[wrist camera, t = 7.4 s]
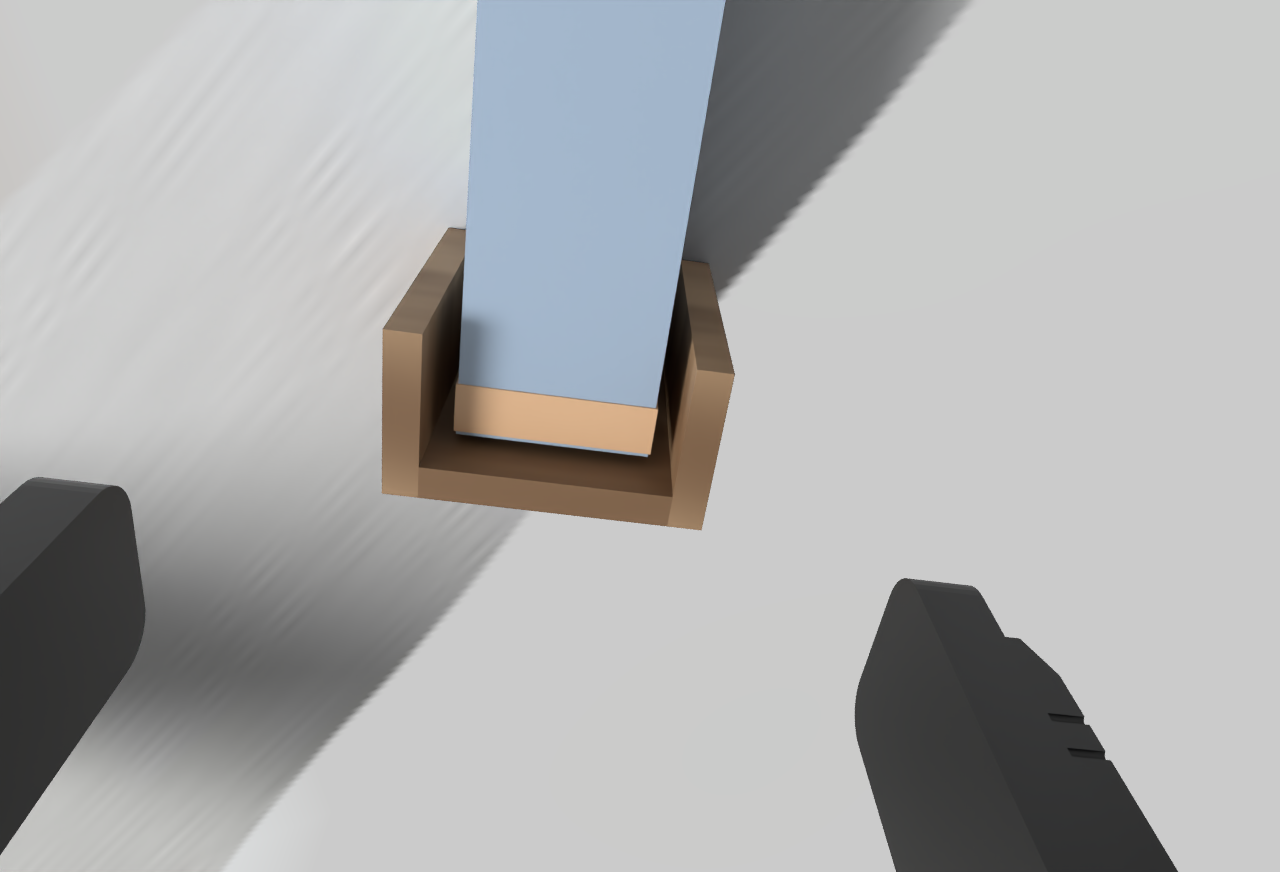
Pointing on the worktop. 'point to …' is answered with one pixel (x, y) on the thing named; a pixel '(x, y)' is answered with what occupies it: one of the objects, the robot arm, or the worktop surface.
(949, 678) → the robot arm
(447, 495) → the socket
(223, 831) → the worktop surface
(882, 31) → the worktop surface
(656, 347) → the tan-tipped blue bar
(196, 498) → the worktop surface
